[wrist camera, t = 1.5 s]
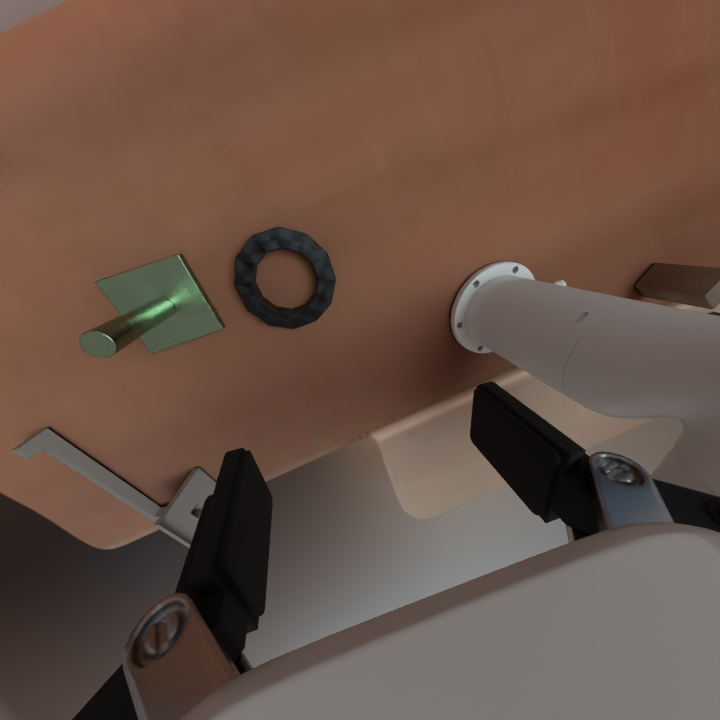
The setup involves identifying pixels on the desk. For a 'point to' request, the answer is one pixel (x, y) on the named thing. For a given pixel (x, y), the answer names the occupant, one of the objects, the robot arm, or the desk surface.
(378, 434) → the desk surface
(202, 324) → the post
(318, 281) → the black ring
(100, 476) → the toilet paper hanger
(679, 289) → the wooden block
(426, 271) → the desk surface
